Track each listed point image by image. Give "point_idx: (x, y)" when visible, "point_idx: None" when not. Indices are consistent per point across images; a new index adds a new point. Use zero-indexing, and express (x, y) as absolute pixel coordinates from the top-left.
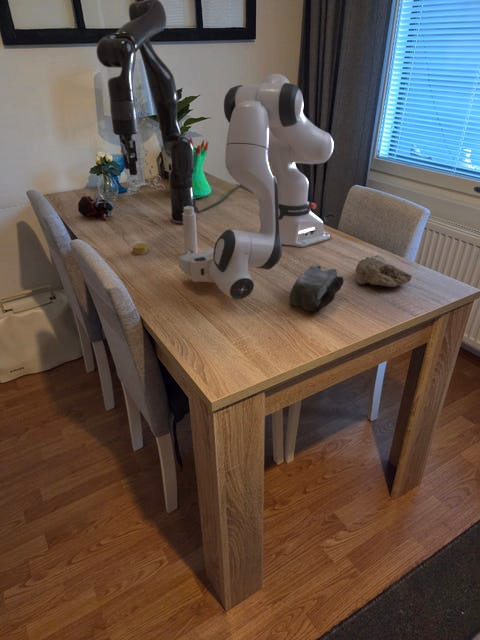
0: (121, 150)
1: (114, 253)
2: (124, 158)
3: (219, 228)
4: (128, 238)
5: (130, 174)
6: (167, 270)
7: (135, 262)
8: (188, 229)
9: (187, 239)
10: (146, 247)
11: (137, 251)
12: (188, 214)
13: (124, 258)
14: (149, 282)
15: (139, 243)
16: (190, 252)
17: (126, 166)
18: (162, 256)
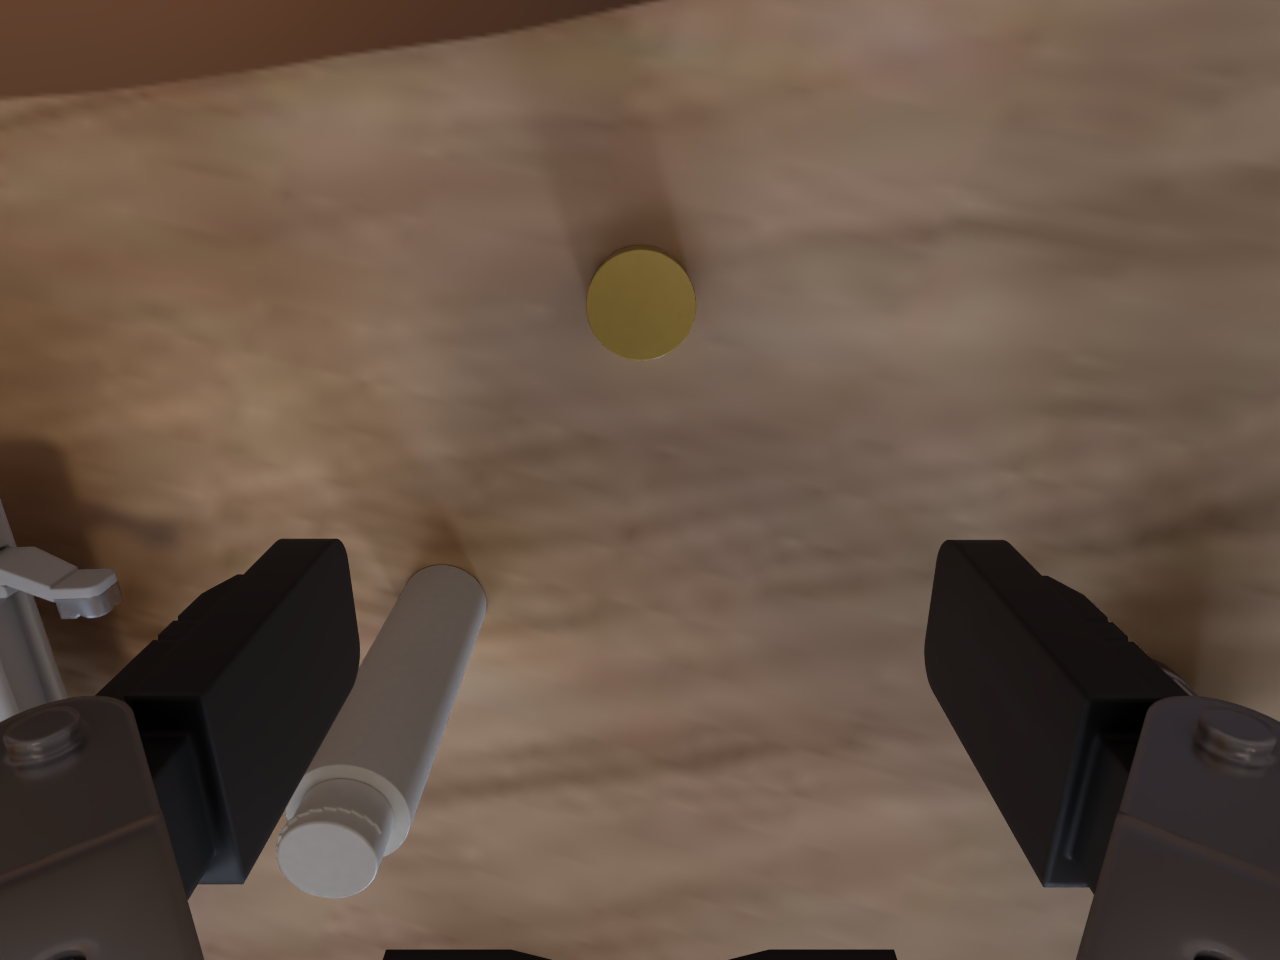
0: (1124, 863)
1: (692, 86)
2: (1066, 694)
3: (833, 871)
4: (965, 264)
5: (280, 541)
6: (254, 403)
7: (453, 219)
8: None
9: (371, 648)
10: (614, 351)
11: (596, 271)
12: (298, 806)
13: (558, 149)
14: (85, 243)
15: (691, 314)
16: (53, 599)
17: (957, 592)
18: (499, 429)
